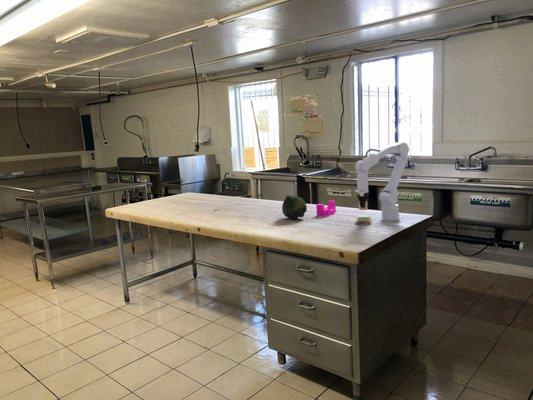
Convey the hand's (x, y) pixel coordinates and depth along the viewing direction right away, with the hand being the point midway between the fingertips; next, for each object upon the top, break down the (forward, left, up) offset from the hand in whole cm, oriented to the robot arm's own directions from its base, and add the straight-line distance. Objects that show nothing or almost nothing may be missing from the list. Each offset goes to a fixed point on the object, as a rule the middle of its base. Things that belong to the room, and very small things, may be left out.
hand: (363, 206), depth 233 cm
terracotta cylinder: (0, 0, -1) cm, 1 cm away
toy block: (+24, -23, -10) cm, 34 cm away
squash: (+42, -9, -9) cm, 44 cm away
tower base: (0, 0, -10) cm, 10 cm away
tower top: (0, 0, -8) cm, 8 cm away
